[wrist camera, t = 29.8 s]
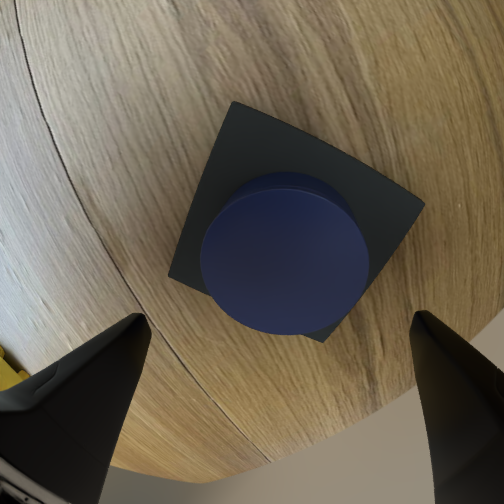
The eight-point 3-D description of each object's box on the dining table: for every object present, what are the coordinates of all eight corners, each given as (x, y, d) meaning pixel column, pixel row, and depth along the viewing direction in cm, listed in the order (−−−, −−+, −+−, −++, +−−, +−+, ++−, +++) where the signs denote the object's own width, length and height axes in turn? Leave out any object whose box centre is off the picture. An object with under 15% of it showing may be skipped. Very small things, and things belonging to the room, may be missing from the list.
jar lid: (199, 268, 15) (181, 299, 13) (245, 146, 12) (231, 157, 10) (315, 316, 16) (316, 352, 13) (383, 211, 13) (401, 238, 10)
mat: (421, 199, 12) (426, 204, 12) (322, 336, 17) (323, 343, 17) (235, 100, 12) (232, 100, 11) (171, 271, 17) (167, 276, 16)
